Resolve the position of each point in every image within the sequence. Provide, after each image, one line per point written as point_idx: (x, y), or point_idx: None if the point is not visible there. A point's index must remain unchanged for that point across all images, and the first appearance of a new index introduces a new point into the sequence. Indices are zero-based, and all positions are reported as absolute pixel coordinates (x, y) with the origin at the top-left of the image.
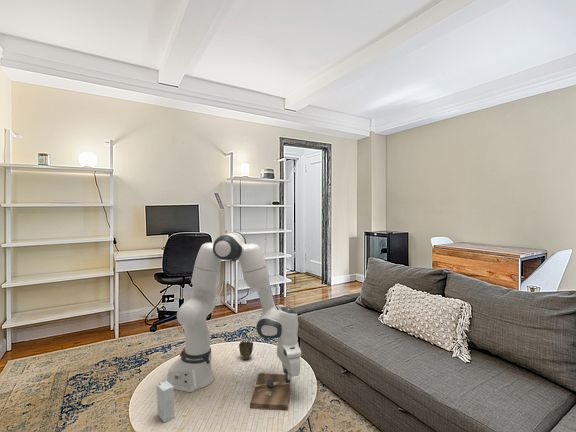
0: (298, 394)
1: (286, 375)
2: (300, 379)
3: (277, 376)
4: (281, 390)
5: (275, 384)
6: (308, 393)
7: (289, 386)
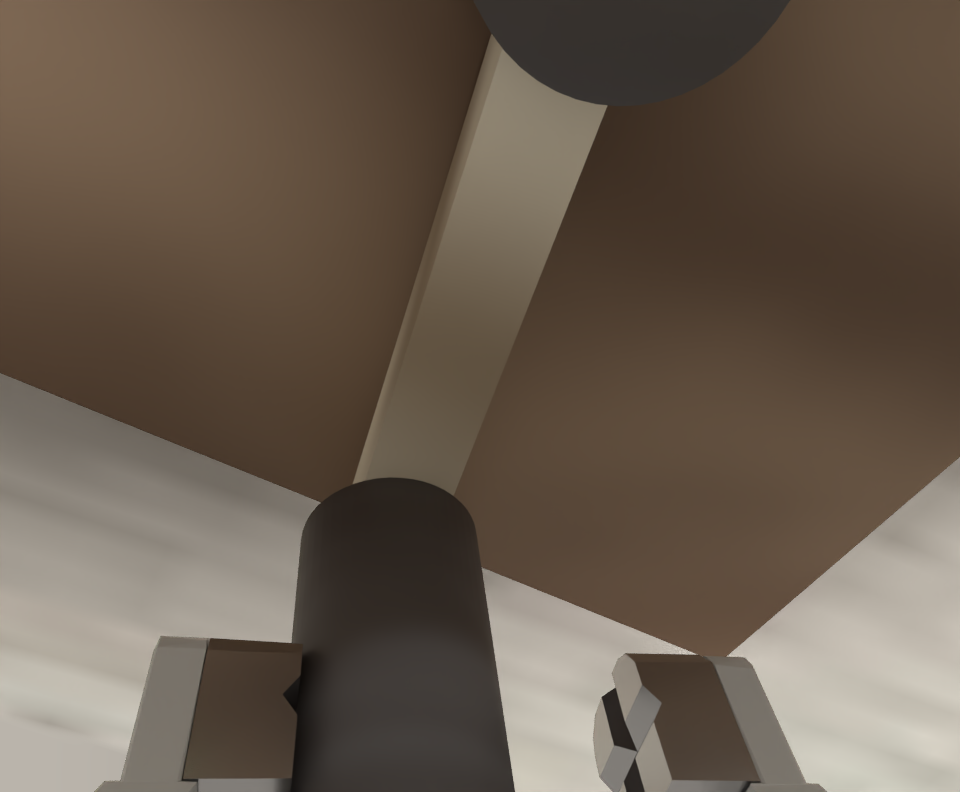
0: (74, 515)
1: (338, 702)
2: (561, 705)
3: (895, 395)
4: (141, 191)
5: (469, 125)
6: (54, 671)
7: (270, 481)
